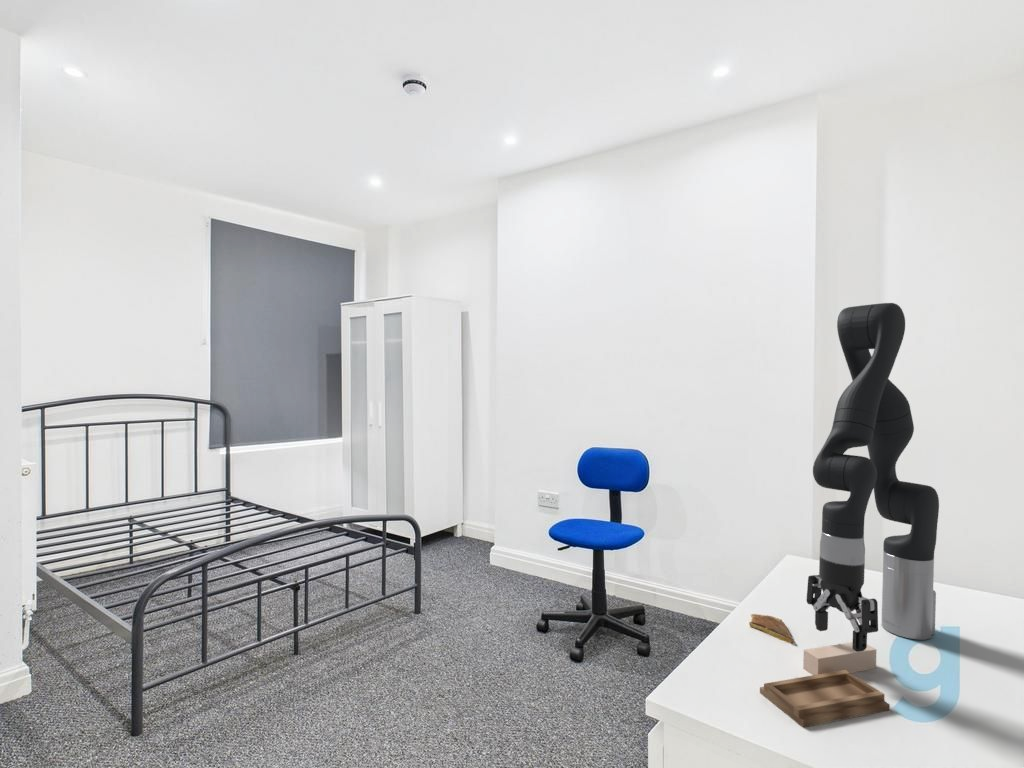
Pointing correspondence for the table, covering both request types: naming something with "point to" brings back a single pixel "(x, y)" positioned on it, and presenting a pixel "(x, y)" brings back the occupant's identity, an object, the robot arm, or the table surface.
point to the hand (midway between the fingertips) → (839, 639)
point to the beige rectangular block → (838, 659)
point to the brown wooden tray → (825, 697)
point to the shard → (771, 626)
